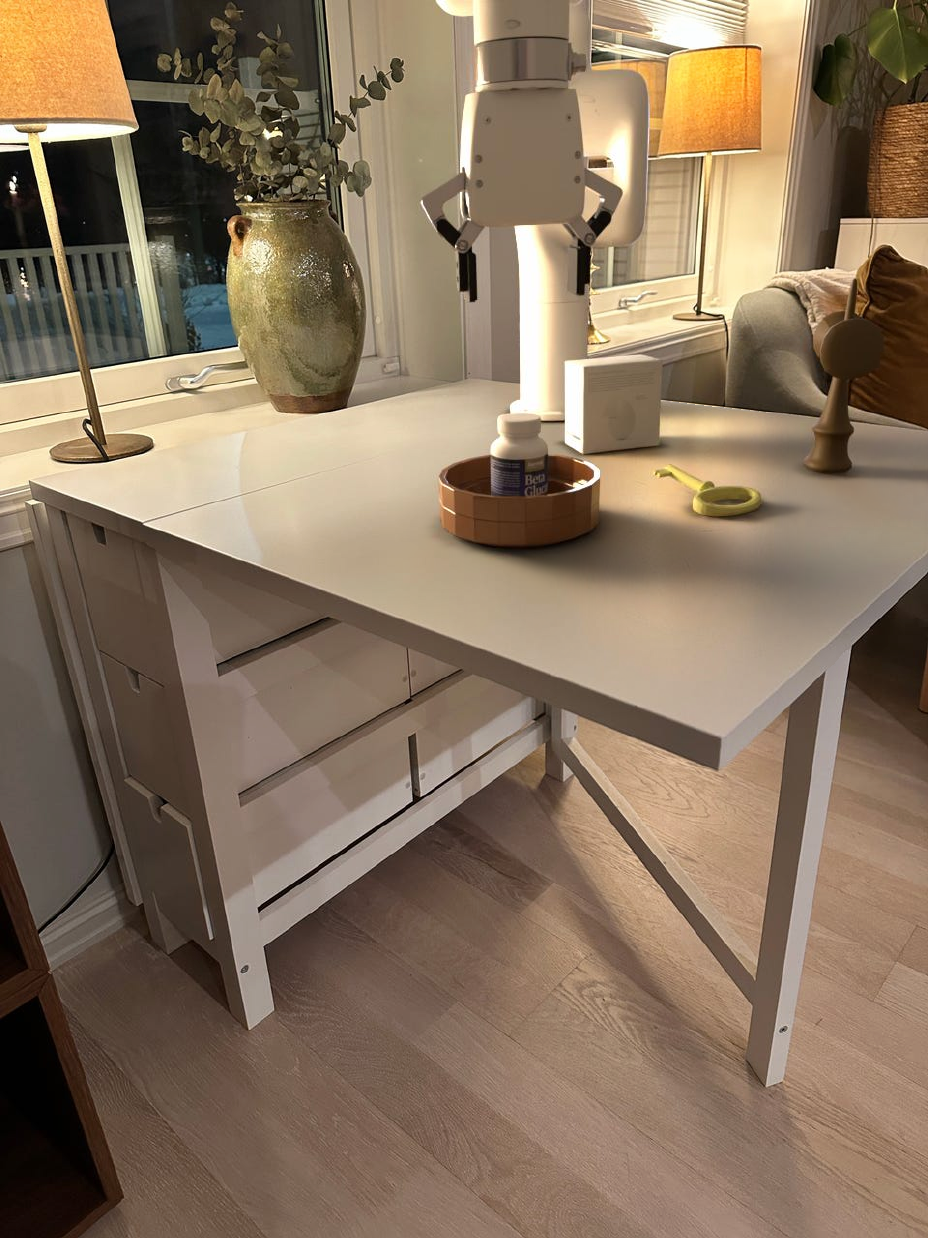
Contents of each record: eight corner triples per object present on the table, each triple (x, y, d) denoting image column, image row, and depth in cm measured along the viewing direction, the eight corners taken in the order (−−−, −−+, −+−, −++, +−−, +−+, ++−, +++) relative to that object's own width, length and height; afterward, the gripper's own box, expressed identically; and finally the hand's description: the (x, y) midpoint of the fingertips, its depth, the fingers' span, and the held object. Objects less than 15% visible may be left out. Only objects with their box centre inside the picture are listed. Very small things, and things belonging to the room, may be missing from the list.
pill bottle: (531, 530, 82) (531, 425, 78) (481, 521, 85) (478, 420, 81) (557, 513, 86) (558, 413, 82) (509, 505, 89) (507, 408, 85)
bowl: (431, 506, 92) (428, 459, 89) (572, 494, 94) (573, 447, 92) (455, 558, 78) (453, 504, 76) (620, 542, 80) (622, 489, 78)
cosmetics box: (637, 434, 116) (642, 351, 111) (660, 446, 110) (665, 359, 105) (562, 442, 113) (563, 358, 109) (581, 454, 108) (583, 366, 103)
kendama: (803, 481, 95) (829, 282, 86) (794, 457, 103) (817, 274, 95) (863, 483, 93) (896, 282, 85) (849, 459, 102) (878, 273, 93)
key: (666, 481, 97) (667, 462, 96) (769, 504, 88) (772, 484, 87) (625, 496, 92) (626, 477, 91) (730, 523, 84) (733, 501, 83)
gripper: (610, 74, 75) (603, 287, 83) (409, 79, 73) (421, 298, 81) (641, 63, 69) (631, 296, 76) (421, 68, 66) (433, 308, 74)
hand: (523, 297), depth 79 cm, fingers open, 9 cm apart
